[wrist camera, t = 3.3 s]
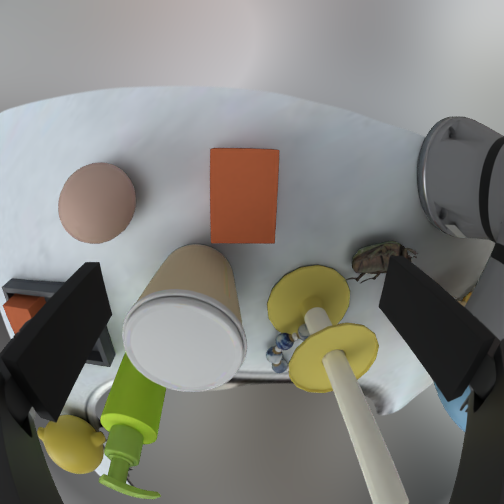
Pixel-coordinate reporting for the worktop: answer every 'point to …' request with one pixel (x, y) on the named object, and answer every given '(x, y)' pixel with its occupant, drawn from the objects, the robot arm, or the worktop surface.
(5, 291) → the pad frame
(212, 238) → the loose pad
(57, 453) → the sculpture
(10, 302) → the seated pad
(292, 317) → the yellow disc white stick
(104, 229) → the egg
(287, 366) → the bracelet
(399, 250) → the insect
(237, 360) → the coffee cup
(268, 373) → the worktop surface
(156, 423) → the soap dispenser
